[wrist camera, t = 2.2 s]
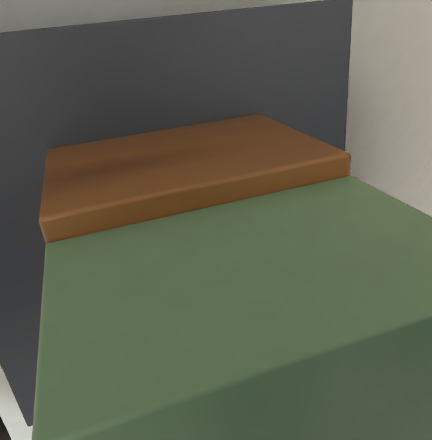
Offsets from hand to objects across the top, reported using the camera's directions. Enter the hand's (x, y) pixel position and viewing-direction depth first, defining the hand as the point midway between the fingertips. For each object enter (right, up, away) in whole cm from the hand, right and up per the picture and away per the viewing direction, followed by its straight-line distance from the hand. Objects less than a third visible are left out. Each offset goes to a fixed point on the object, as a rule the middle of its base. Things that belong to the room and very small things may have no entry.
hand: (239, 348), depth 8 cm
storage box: (-3, +4, +8) cm, 9 cm away
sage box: (0, 0, +1) cm, 1 cm away
